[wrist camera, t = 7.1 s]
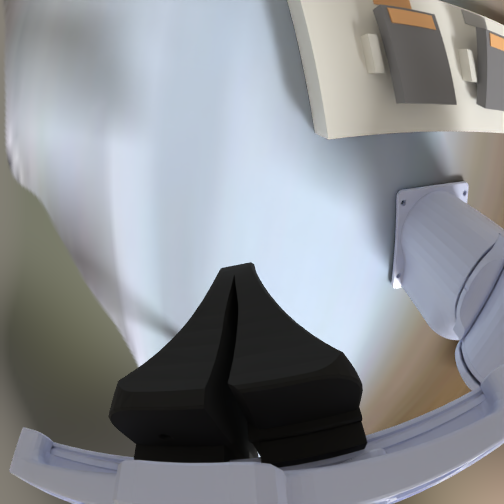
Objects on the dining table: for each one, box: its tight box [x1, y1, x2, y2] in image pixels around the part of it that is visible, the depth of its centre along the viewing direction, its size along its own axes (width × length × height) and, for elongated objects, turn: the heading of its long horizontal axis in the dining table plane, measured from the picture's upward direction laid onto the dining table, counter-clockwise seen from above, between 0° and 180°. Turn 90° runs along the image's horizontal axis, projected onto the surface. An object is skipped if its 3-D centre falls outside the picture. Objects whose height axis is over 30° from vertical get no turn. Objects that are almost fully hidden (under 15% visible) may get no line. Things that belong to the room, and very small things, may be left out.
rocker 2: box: [476, 27, 504, 111], centre depth 10 cm, size 6×4×1 cm, turn 11°
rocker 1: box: [373, 4, 457, 105], centre depth 11 cm, size 6×4×1 cm, turn 11°
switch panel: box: [287, 0, 504, 140], centre depth 13 cm, size 10×28×4 cm, turn 101°
